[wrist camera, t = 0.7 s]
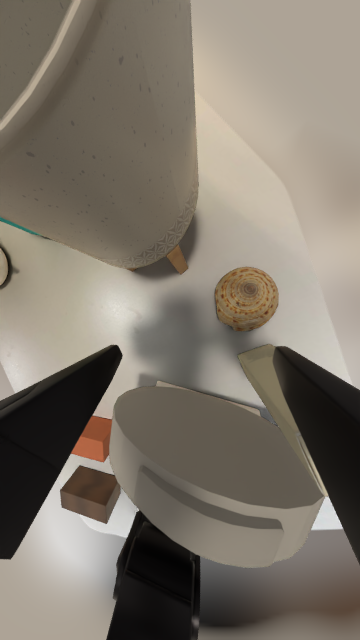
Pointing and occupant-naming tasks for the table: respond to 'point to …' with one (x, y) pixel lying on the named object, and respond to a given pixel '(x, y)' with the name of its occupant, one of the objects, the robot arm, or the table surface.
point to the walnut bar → (90, 494)
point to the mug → (3, 267)
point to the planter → (99, 125)
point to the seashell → (246, 298)
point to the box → (277, 403)
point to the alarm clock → (212, 475)
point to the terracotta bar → (94, 439)
